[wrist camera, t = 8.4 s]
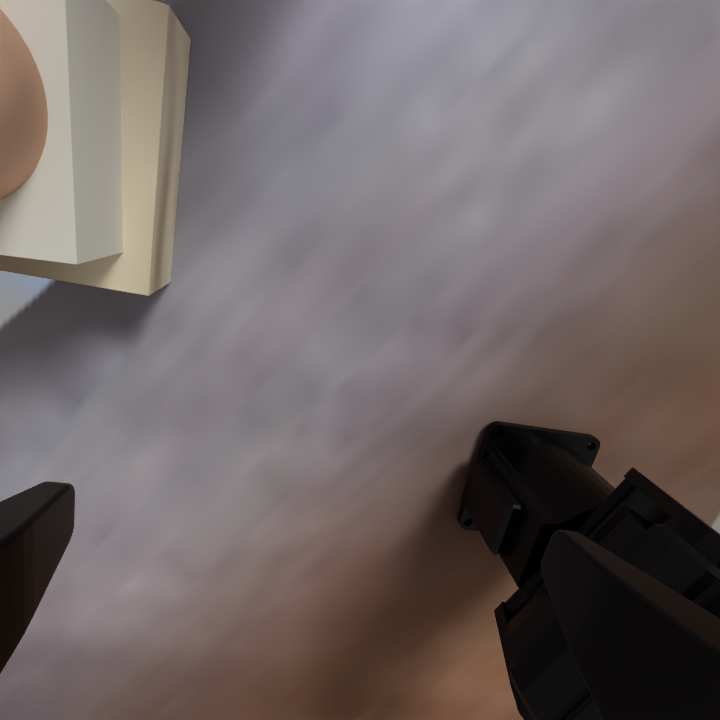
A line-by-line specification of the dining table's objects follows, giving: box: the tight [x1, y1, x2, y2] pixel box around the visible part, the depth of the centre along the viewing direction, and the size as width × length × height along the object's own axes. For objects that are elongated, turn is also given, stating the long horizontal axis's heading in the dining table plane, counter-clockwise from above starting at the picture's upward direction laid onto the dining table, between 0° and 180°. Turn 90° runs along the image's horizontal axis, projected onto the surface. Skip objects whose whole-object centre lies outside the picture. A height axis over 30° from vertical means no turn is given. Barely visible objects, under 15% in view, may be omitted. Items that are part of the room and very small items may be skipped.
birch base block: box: [0, 0, 191, 296], centre depth 15 cm, size 9×9×4 cm
